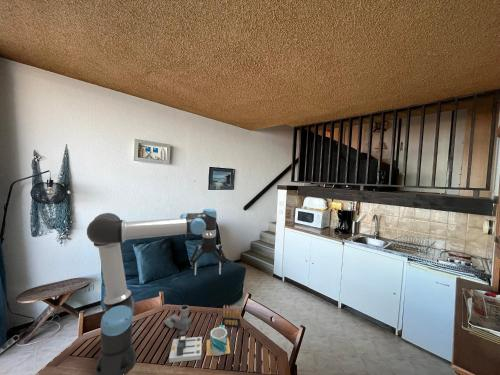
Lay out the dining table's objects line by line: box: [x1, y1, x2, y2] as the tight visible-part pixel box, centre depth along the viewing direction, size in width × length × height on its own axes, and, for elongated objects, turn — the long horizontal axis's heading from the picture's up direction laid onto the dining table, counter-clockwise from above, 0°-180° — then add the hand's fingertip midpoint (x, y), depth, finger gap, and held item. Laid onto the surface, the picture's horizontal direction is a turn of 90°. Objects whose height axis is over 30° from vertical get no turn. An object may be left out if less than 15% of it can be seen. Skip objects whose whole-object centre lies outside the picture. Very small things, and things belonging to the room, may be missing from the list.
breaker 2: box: [180, 335, 187, 349], centre depth 107 cm, size 3×3×4 cm
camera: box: [162, 304, 192, 333], centre depth 125 cm, size 9×12×15 cm
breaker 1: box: [178, 330, 186, 343], centre depth 110 cm, size 3×3×4 cm
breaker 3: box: [177, 342, 184, 356], centre depth 103 cm, size 3×3×4 cm
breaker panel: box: [168, 336, 203, 364], centre depth 107 cm, size 14×12×2 cm
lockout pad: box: [206, 337, 231, 357], centre depth 110 cm, size 11×10×1 cm
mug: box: [209, 324, 228, 357], centre depth 110 cm, size 8×12×8 cm
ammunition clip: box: [221, 304, 242, 328], centre depth 126 cm, size 11×2×12 cm, turn 87°
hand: (207, 273), depth 127 cm, fingers open, 13 cm apart
